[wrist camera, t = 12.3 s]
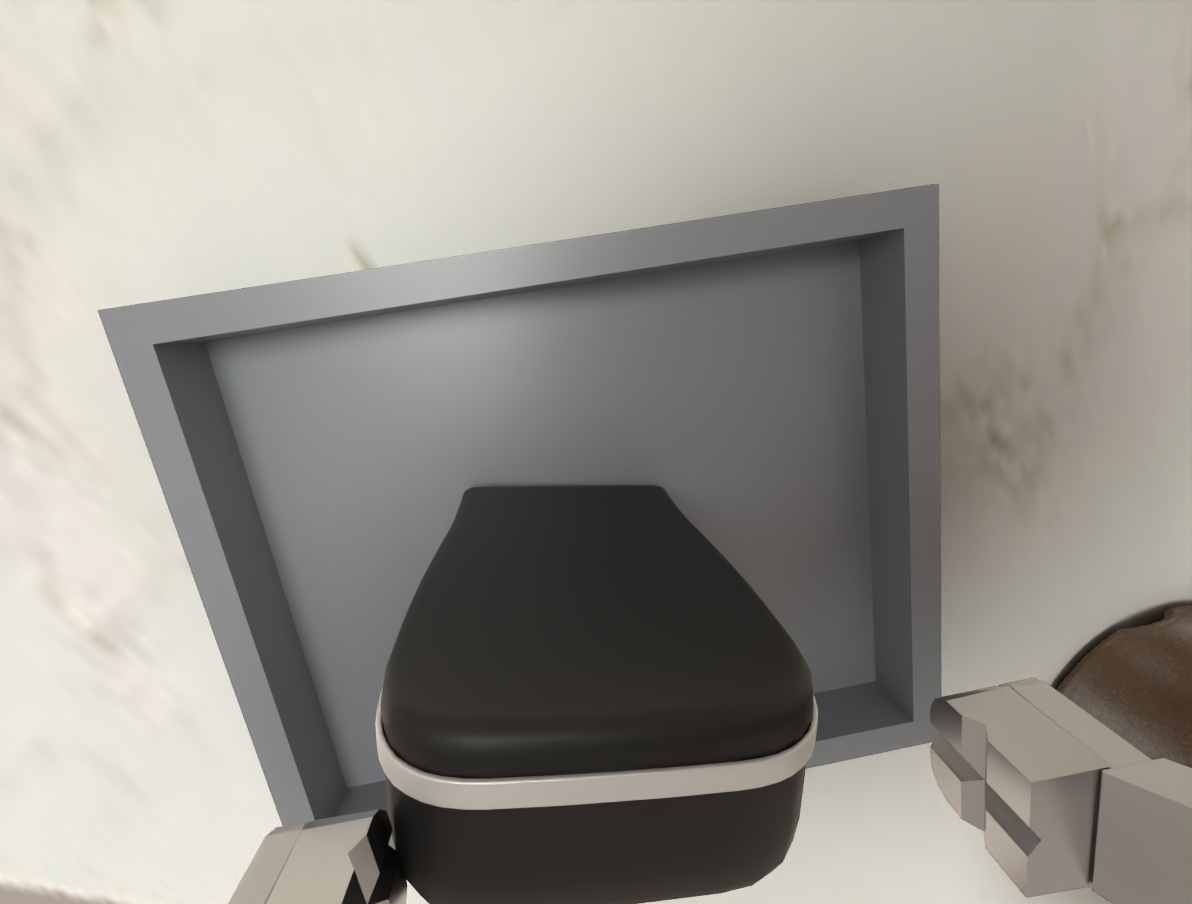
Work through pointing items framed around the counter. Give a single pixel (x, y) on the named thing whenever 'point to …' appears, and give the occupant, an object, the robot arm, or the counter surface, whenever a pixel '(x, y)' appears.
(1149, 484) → the counter surface
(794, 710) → the battery charger
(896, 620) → the tray
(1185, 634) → the plant pot
